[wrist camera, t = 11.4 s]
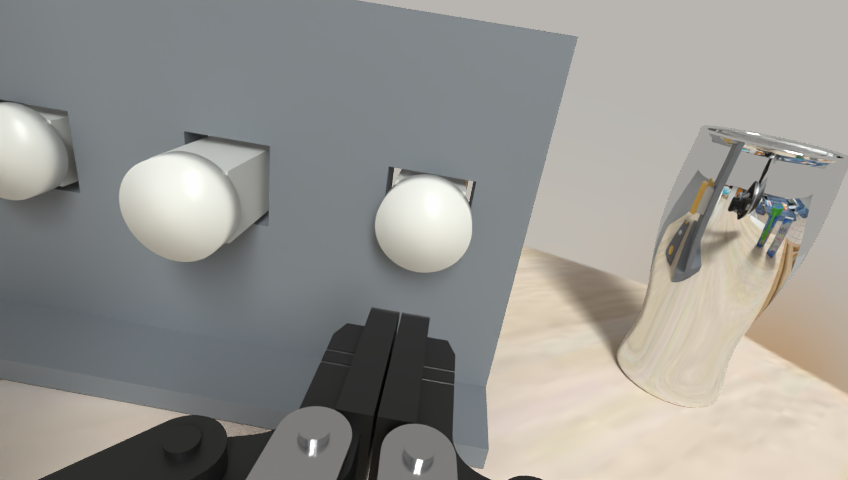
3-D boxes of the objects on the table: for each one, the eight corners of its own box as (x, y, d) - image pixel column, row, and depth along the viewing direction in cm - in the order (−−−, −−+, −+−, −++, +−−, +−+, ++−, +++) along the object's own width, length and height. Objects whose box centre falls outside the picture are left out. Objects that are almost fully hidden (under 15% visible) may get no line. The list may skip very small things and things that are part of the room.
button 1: (370, 263, 20) (380, 174, 18) (401, 194, 29) (409, 130, 27) (462, 280, 20) (480, 191, 18) (464, 205, 29) (477, 141, 27)
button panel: (-94, 361, 21) (-274, -109, 14) (75, 265, 30) (19, -50, 23) (483, 468, 21) (607, 36, 13) (478, 337, 30) (551, 37, 23)
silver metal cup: (737, 432, 25) (889, 170, 19) (606, 385, 27) (707, 134, 21) (715, 362, 31) (826, 145, 25) (610, 328, 33) (689, 119, 27)
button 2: (-36, 191, 20) (-61, 98, 19) (118, 145, 29) (110, 79, 27) (53, 207, 20) (35, 114, 18) (180, 156, 29) (176, 90, 27)
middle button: (125, 252, 18) (112, 149, 16) (240, 181, 27) (239, 110, 25) (227, 270, 18) (224, 168, 16) (308, 193, 26) (312, 123, 25)
